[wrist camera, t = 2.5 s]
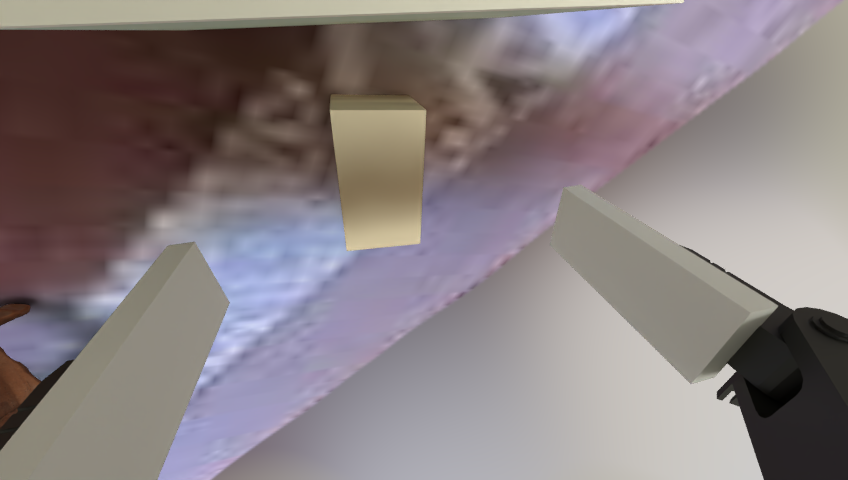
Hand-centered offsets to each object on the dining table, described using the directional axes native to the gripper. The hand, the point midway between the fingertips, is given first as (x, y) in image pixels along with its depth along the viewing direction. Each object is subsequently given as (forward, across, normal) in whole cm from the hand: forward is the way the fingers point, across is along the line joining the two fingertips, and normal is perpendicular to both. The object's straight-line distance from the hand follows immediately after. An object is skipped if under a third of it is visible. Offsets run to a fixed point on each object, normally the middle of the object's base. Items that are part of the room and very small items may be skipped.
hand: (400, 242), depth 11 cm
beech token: (+8, 0, 0) cm, 8 cm away
